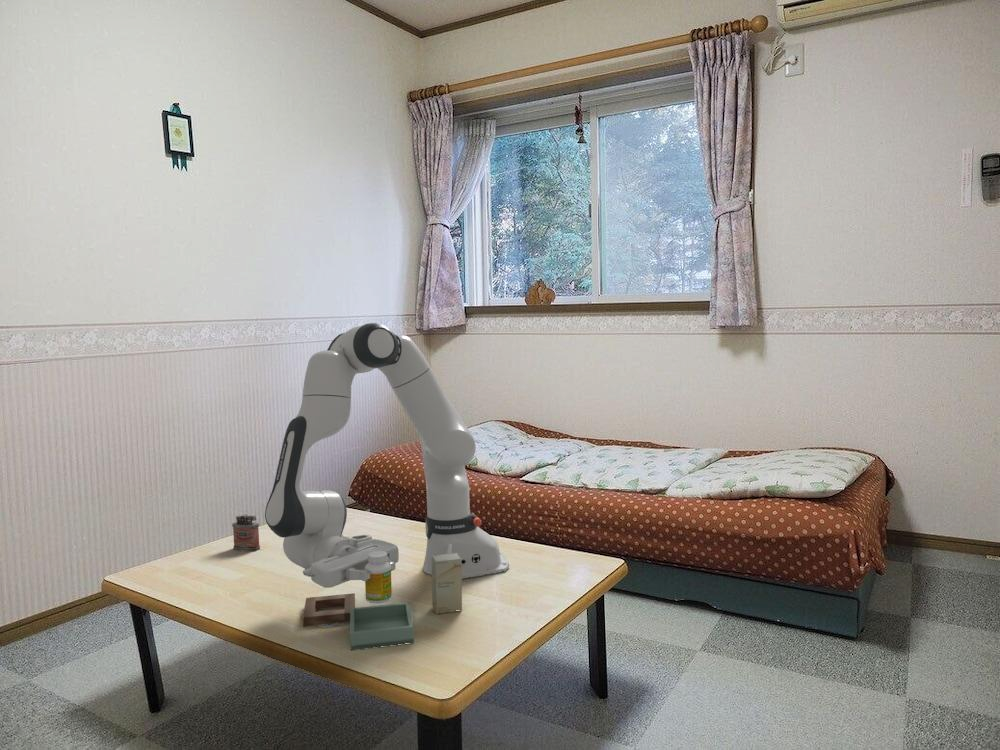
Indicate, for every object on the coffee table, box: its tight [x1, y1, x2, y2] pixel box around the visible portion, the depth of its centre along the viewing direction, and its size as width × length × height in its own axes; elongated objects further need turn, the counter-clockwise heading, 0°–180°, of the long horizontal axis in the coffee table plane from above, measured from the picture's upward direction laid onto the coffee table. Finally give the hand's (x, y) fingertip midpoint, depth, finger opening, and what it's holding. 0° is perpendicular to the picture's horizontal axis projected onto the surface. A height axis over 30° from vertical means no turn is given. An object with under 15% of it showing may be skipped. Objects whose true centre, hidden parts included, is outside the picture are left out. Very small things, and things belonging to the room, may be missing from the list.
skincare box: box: [431, 553, 463, 615], centre depth 163 cm, size 6×4×12 cm
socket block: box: [302, 592, 356, 628], centre depth 162 cm, size 11×11×2 cm
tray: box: [349, 602, 415, 651], centre depth 152 cm, size 13×13×4 cm
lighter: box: [231, 513, 261, 552], centre depth 208 cm, size 8×3×10 cm, turn 76°
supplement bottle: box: [364, 551, 393, 604], centre depth 151 cm, size 5×5×10 cm
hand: (380, 571), depth 150 cm, fingers closed on supplement bottle, 5 cm apart
